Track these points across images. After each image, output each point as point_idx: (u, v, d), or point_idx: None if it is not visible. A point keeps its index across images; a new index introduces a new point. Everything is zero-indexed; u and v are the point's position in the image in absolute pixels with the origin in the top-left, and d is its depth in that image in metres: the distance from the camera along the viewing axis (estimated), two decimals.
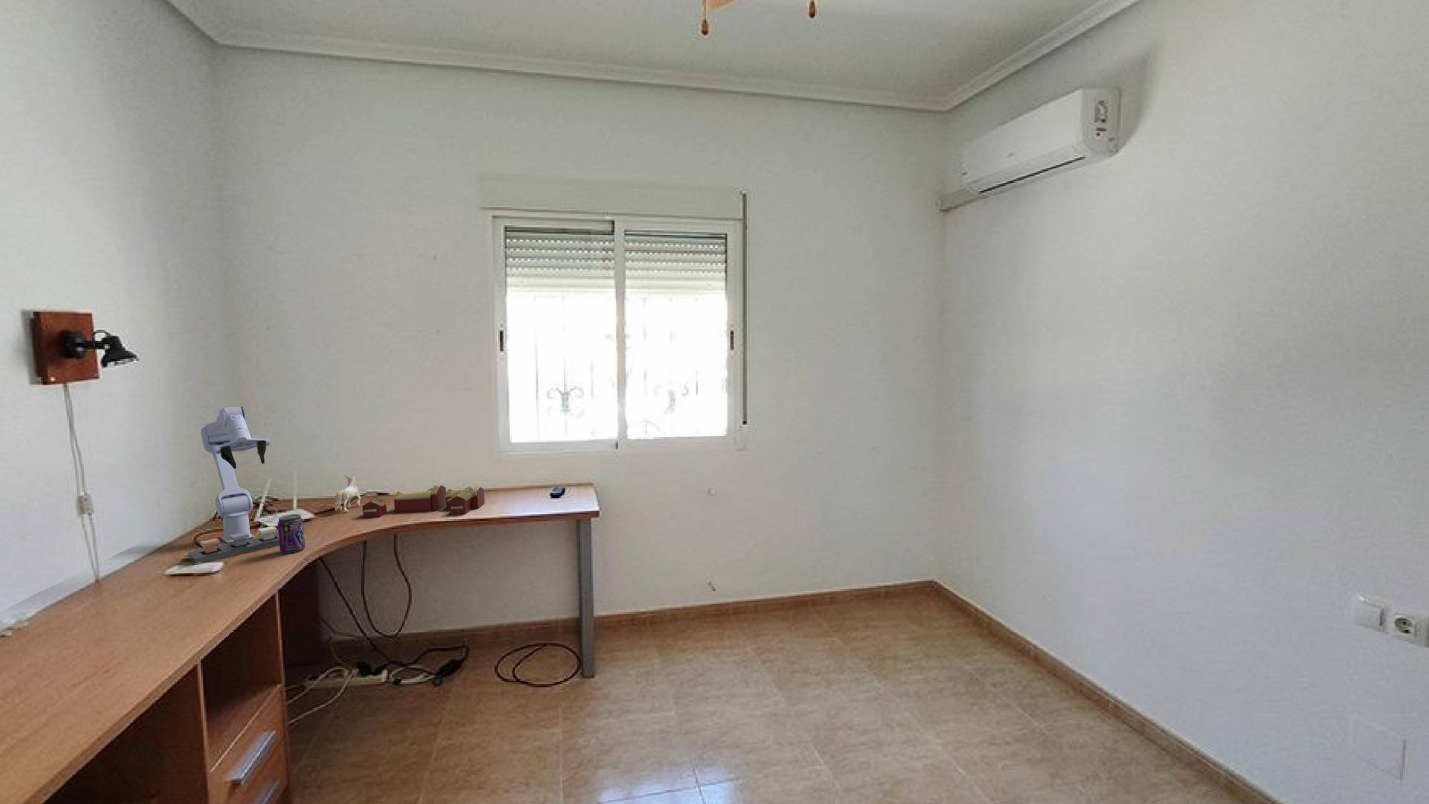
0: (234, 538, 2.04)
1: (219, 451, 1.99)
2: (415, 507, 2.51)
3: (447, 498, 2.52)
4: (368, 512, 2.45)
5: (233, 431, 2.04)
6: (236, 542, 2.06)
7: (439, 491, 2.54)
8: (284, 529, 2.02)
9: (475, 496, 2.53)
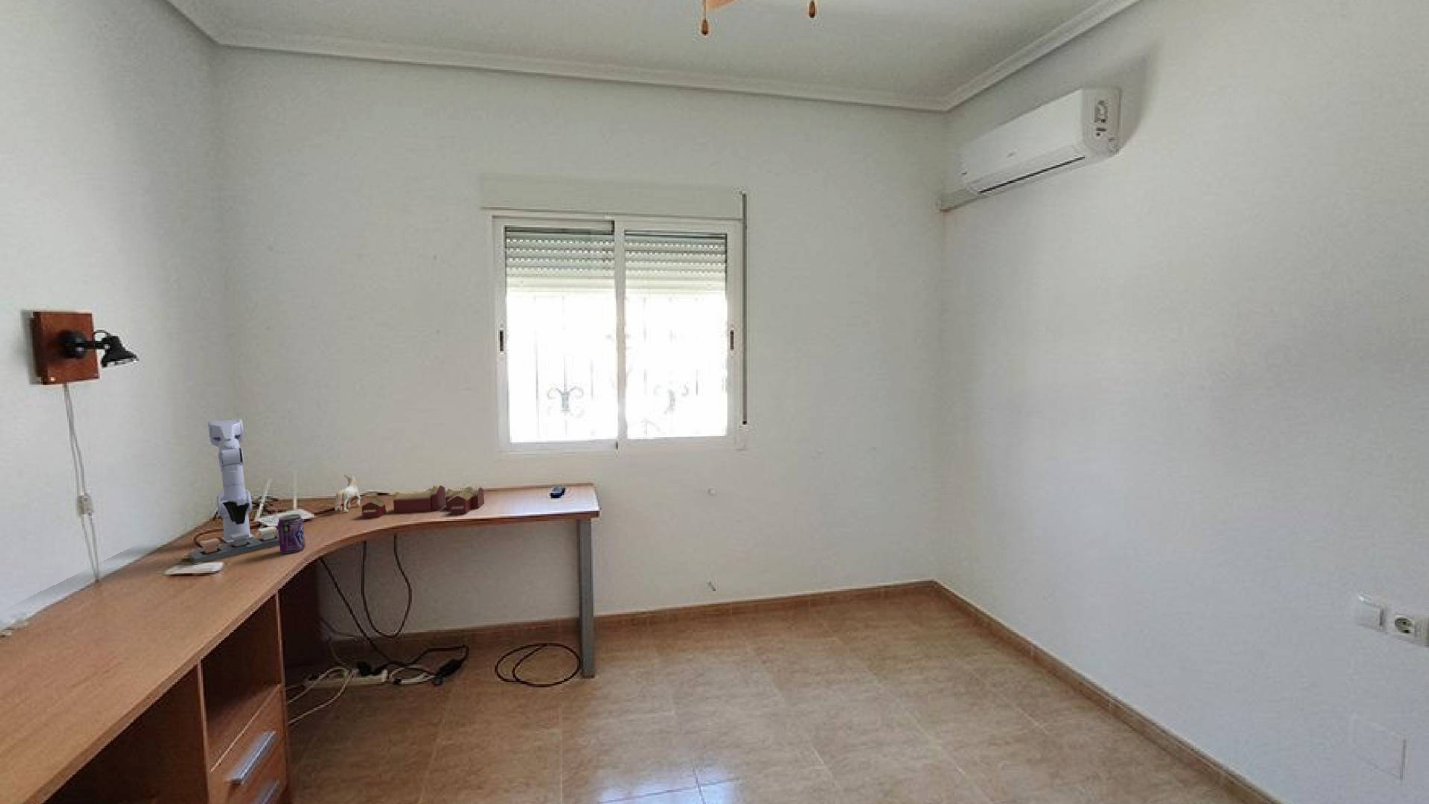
0: (234, 538, 2.04)
1: None
2: (415, 507, 2.51)
3: (447, 498, 2.52)
4: (367, 512, 2.44)
5: None
6: (236, 542, 2.06)
7: (439, 491, 2.54)
8: (284, 530, 2.02)
9: (475, 496, 2.53)
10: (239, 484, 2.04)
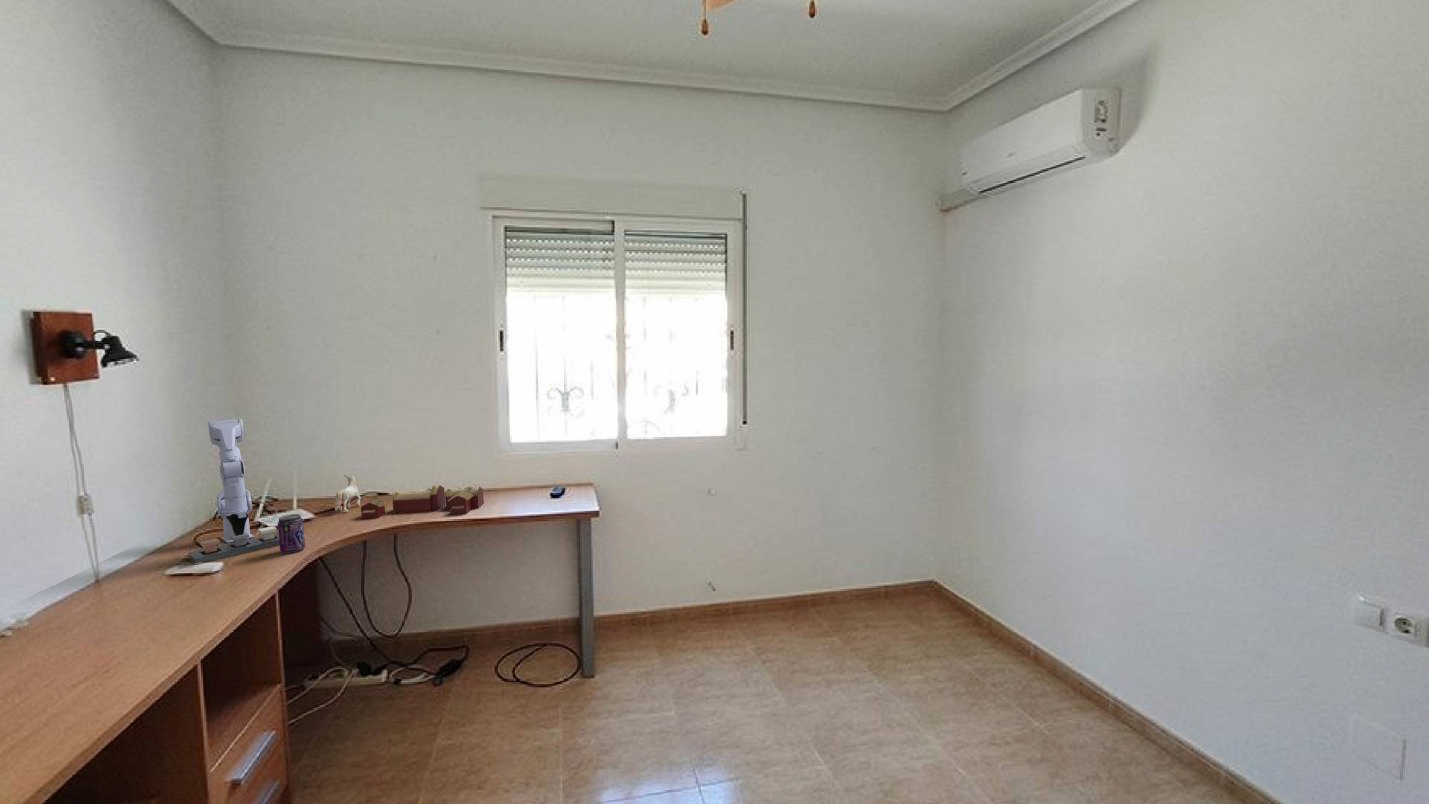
0: (234, 538, 2.04)
1: None
2: (414, 507, 2.51)
3: (447, 498, 2.52)
4: (367, 513, 2.43)
5: None
6: (236, 542, 2.06)
7: (438, 491, 2.54)
8: (284, 529, 2.02)
9: (475, 496, 2.53)
10: (240, 497, 2.05)
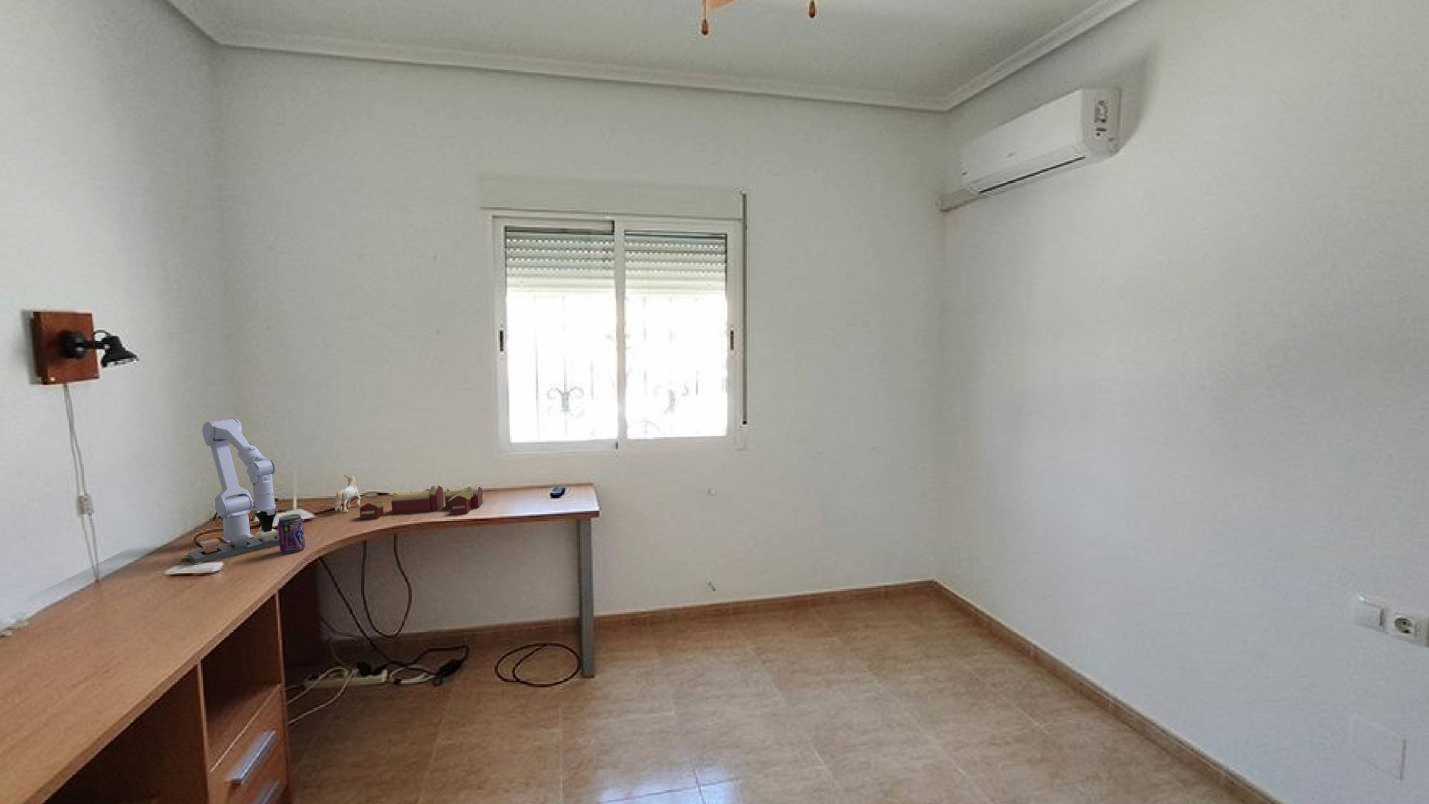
0: (234, 541, 2.04)
1: None
2: (414, 508, 2.50)
3: (446, 498, 2.52)
4: (366, 514, 2.42)
5: None
6: (236, 545, 2.06)
7: (437, 491, 2.54)
8: (284, 530, 2.02)
9: (475, 496, 2.54)
10: (269, 494, 2.11)
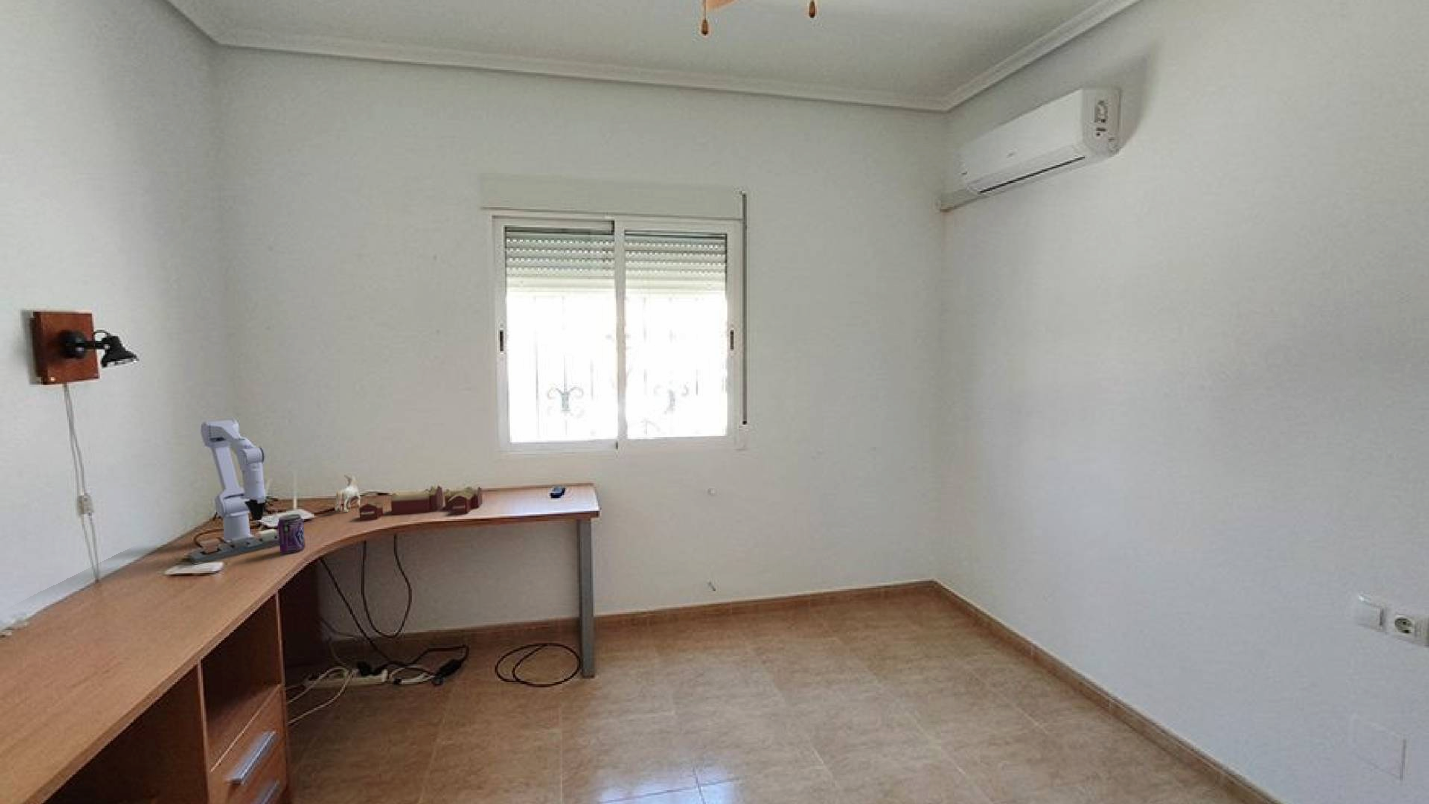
0: (234, 541, 2.04)
1: None
2: (413, 508, 2.50)
3: (446, 498, 2.52)
4: (365, 514, 2.41)
5: None
6: (236, 545, 2.06)
7: (437, 491, 2.53)
8: (284, 530, 2.02)
9: (475, 495, 2.54)
10: (259, 482, 2.09)
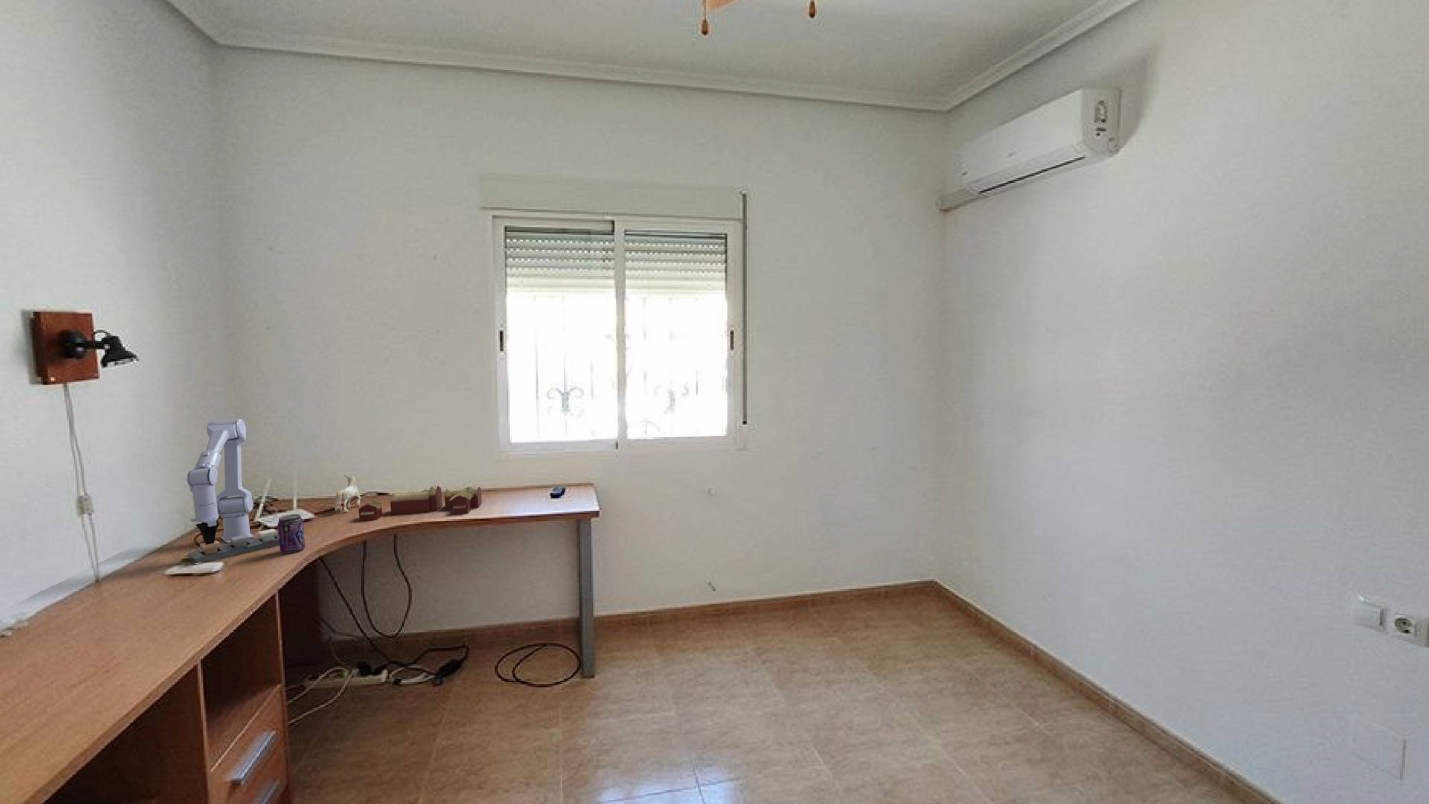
0: (234, 541, 2.04)
1: None
2: (413, 508, 2.49)
3: (446, 498, 2.52)
4: (365, 515, 2.40)
5: None
6: (236, 545, 2.06)
7: (437, 492, 2.53)
8: (284, 530, 2.02)
9: (475, 495, 2.54)
10: (211, 504, 1.99)
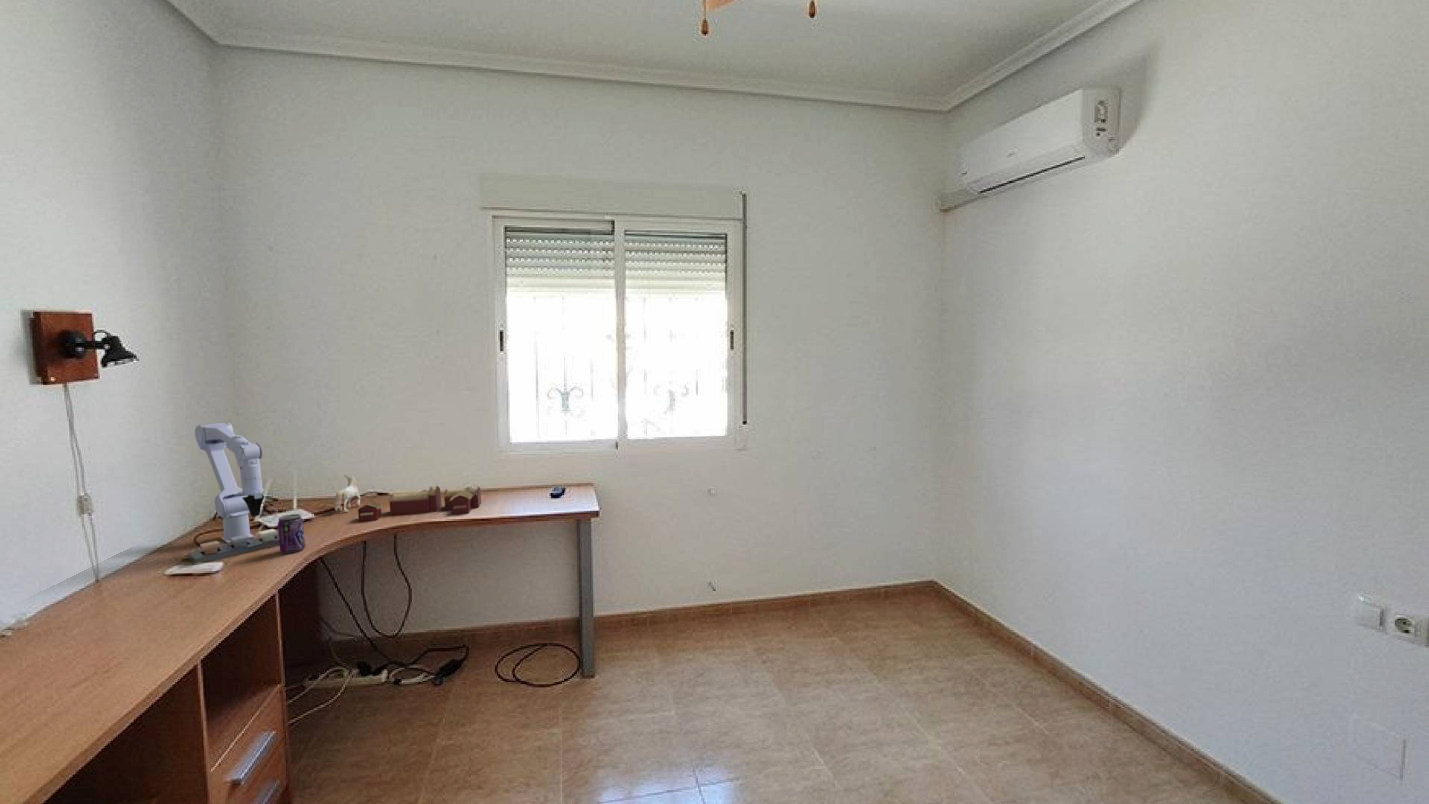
0: (234, 541, 2.04)
1: None
2: (412, 509, 2.49)
3: (446, 498, 2.52)
4: (364, 516, 2.39)
5: None
6: (236, 545, 2.06)
7: (436, 492, 2.53)
8: (284, 529, 2.02)
9: (475, 495, 2.55)
10: (256, 478, 2.11)
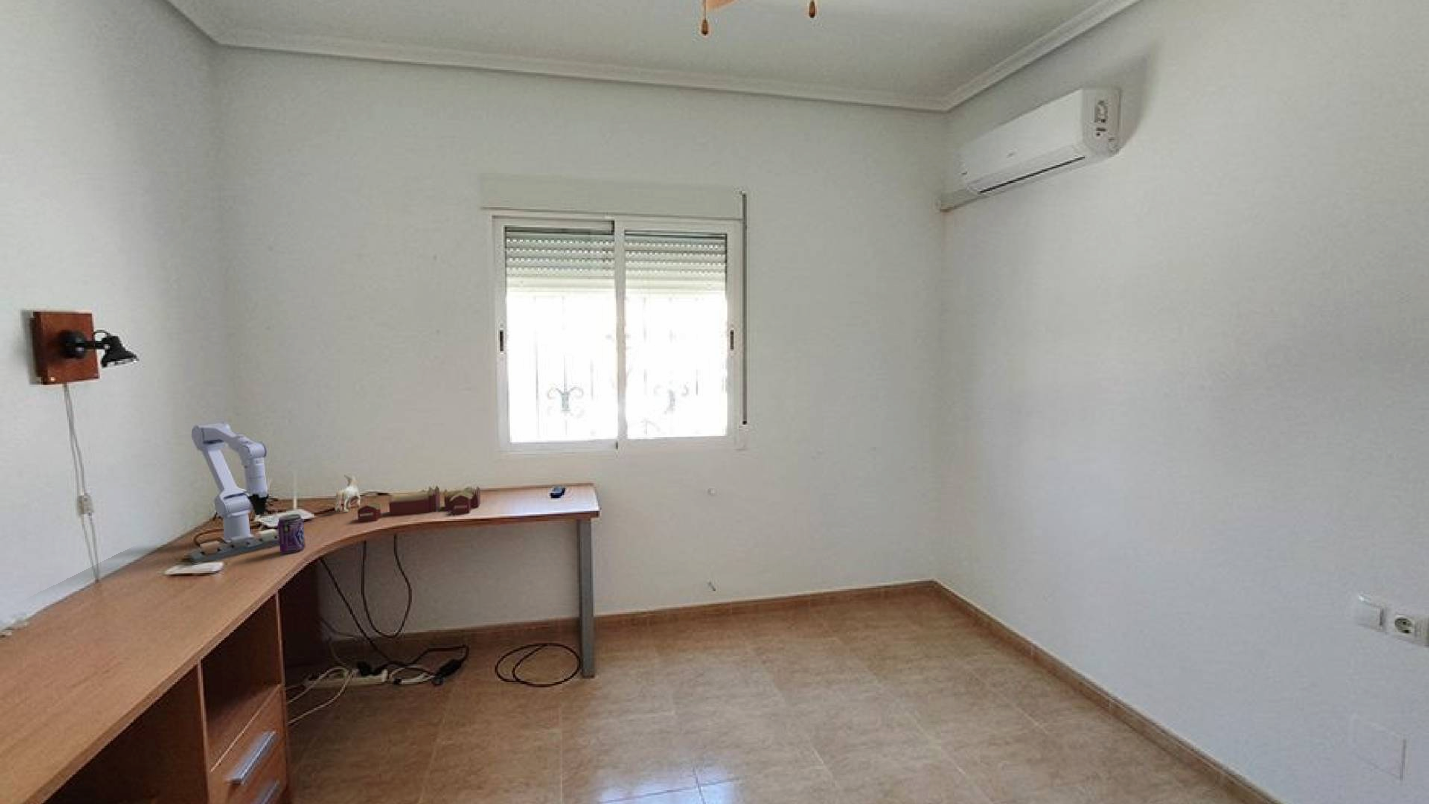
0: (234, 541, 2.04)
1: None
2: (412, 509, 2.48)
3: (446, 498, 2.52)
4: (364, 516, 2.38)
5: None
6: (236, 545, 2.06)
7: (436, 492, 2.53)
8: (284, 530, 2.02)
9: (475, 495, 2.55)
10: (261, 477, 2.12)
